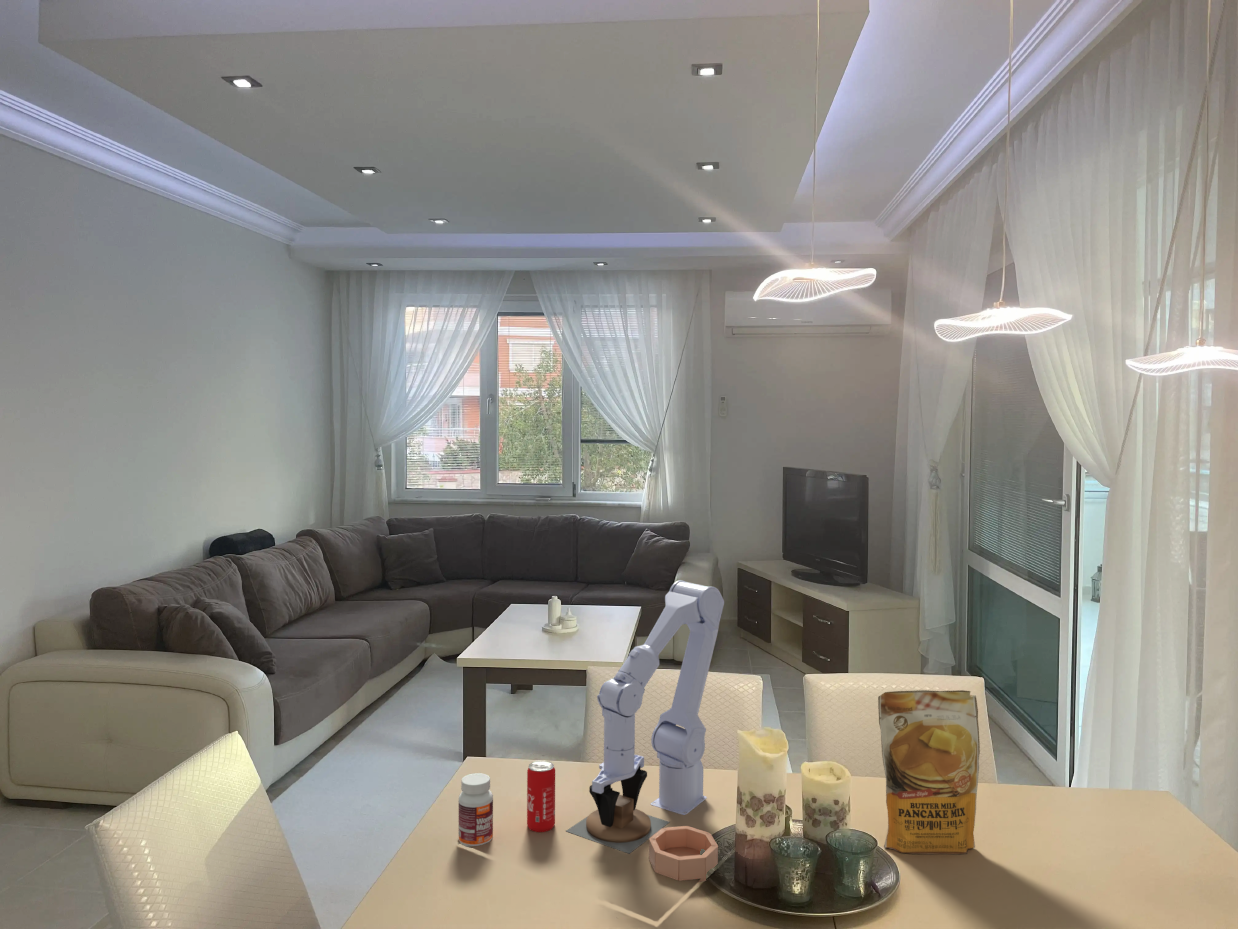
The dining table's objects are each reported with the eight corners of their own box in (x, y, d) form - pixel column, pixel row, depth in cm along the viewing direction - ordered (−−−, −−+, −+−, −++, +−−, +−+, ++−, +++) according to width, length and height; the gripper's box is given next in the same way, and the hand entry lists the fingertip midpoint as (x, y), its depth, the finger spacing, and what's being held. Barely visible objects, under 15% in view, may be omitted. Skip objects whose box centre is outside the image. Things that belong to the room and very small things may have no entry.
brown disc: (609, 805, 162) (610, 780, 162) (662, 822, 155) (663, 796, 155) (573, 830, 152) (573, 803, 152) (627, 849, 145) (628, 821, 145)
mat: (608, 805, 163) (608, 802, 163) (669, 825, 156) (669, 822, 156) (565, 834, 152) (565, 831, 152) (629, 857, 144) (629, 853, 144)
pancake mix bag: (868, 836, 152) (872, 686, 151) (971, 836, 152) (976, 687, 151) (880, 855, 146) (884, 698, 144) (988, 855, 146) (993, 699, 144)
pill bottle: (481, 851, 145) (481, 788, 145) (451, 844, 148) (451, 782, 147) (499, 836, 151) (499, 775, 150) (470, 829, 153) (470, 769, 153)
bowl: (671, 842, 149) (671, 820, 149) (726, 860, 143) (726, 838, 143) (638, 869, 140) (638, 846, 140) (695, 890, 134) (696, 866, 134)
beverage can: (550, 837, 151) (550, 772, 150) (523, 834, 152) (523, 770, 151) (558, 823, 156) (558, 761, 155) (531, 820, 157) (532, 758, 156)
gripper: (622, 728, 161) (622, 796, 162) (578, 752, 149) (577, 826, 150) (653, 736, 157) (652, 806, 158) (610, 762, 145) (610, 837, 146)
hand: (618, 817), depth 154 cm, fingers open, 7 cm apart
